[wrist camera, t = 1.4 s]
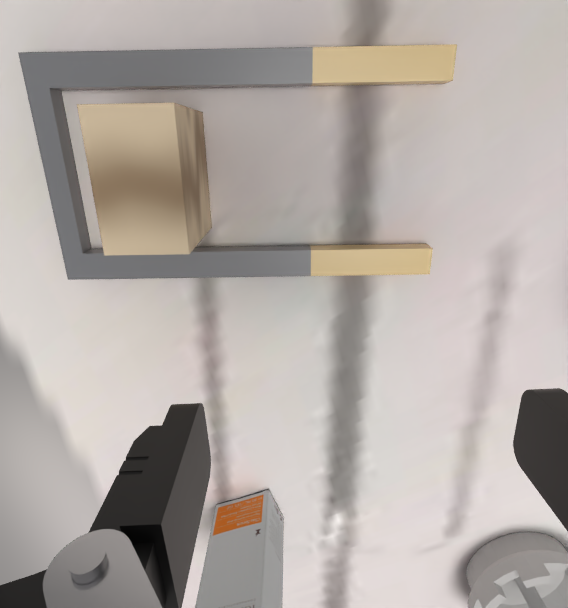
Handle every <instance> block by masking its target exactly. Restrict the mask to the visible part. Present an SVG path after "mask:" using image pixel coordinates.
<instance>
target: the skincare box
mask: <svg viewBox="0 0 568 608" xmlns="http://www.w3.org/2000/svg"><path fill="white" fill-rule="evenodd" d="M283 529H284V518H283V516H282V514H281V512H280V510H279V508H278V506H277V504H276V502H275V501H274V499H273V497H272V495H271V493H270V491H269V490H266V491H263V492H261V493H257V494H254V495H250V496H247V497H244V498H240V499H236V500H233V501H229V502H225V503H221V504H218V505H216V508H215V513H214V518H213V523H212V528H211V533H210V537H209V543H208V547H207V552H206V557H205V562H204V567H203V572H202V577H201V582H200V586H199V591H198V596H197V601H196V606H195V608H282V589H283Z"/></svg>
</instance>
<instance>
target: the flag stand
mask: <svg viewBox="0 0 568 608" xmlns="http://www.w3.org/2000/svg"><path fill="white" fill-rule="evenodd" d="M466 576H467V581H468V583H469V586H470V588H471V592H470V594H469V599H468V607H469V608H568V552H567V550H566V549H565V548H564V546H563V545H562V544H561V543H560V542H559V541H558V540H556V539H555V538H553V537H551V536H549V535H545V534H541V533H535V532H519V533H513V534H508V535H505V536H502V537H499V538H497V539H495V540H492V541H490V542H489V543H487V544H486V545H484V546H483V547H481V548H480V549H479V550H478V551H477V552H476V553H475V554H474V555H473V557H472V558H471V559H470V561H469V564H468V566H467V571H466Z"/></svg>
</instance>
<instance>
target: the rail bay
mask: <svg viewBox="0 0 568 608" xmlns="http://www.w3.org/2000/svg"><path fill="white" fill-rule="evenodd" d="M456 49H457V45H403V46H349V47H295V48H240V49H186V50H132V51H78V52H24V53H19V58H20V62H21V67H22V72H23V76H24V81H25V85H26V90H27V94H28V99H29V104H30V108H31V113H32V117H33V122H34V126H35V131H36V135H37V140H38V145H39V149H40V154H41V158H42V163H43V167H44V172H45V176H46V181H47V186H48V190H49V195H50V199H51V204H52V208H53V213H54V217H55V222H56V227H57V231H58V236H59V240H60V245H61V249H62V254H63V259H64V263H65V268H66V272H67V277H68V280H70V279H138V278H206V277H274V276H343V275H411V274H430V266H431V258H432V249H433V248H431V247H430V246H429V245H427V244H371V245H305V246H239V247H195V248H194V249H193V251H192V252H191V253H190V254H174V255H106V256H104V251H103V249H91V244H90V239H89V234H88V229H87V224H86V218H85V213H84V208H83V203H82V198H81V192H80V187H79V182H78V177H77V172H76V166H75V161H74V156H73V151H72V145H71V140H70V135H69V130H68V125H67V119H66V114H65V109H64V104H63V99H62V93H61V90H114V89H170V88H226V87H282V86H338V85H395V84H445V83H447V82H450V81H453V74H454V65H455V57H456Z"/></svg>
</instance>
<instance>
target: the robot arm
mask: <svg viewBox="0 0 568 608" xmlns="http://www.w3.org/2000/svg"><path fill="white" fill-rule="evenodd" d="M513 446H514V453H515V456H516V459H517V462H518V464H519V466H520V467H521V469H522V470H523V471H524V473H525V474H526V475H527V477H528V478H529V479H530V481H531V482H532V484H533V485H534V486H535V488H536V489H537V490H538V492H539V493H540V494H541V496H542V497H543V498H544V500H545V501H546V502H547V504H548V505H549V507H550V508H551V509H552V511H553V512H554V513H555V515H556V516H557V517H558V519H559V520H560V521H561V523H562V524H563V526H564V527H565V528H566V530H567V531H568V393H567V392H565V391H564V390H562V389H559V388H557V389H534V390H526V391H525V392H524V393H523V395H522V398H521V403H520V408H519V414H518V419H517V424H516V430H515V435H514V441H513ZM210 468H211V456H210V447H209V440H208V433H207V426H206V419H205V412H204V407H203V405H202V403H197V404H175V405H171V406H170V408H169V411H168V413H167V415H166V418H165V420H164V422H163V425H162V426H149V427H148V428H147V429H146V430H145V431H144V432H143V433H142V434H141V435H140V436H139V437H138V438H137V439H136V440H135V441H134V442H133V444H132V446H131V448H130V450H129V452H128V454H127V456H126V461H124V462H123V464H122V466H121V468H120V470H119V475H117V476H116V478H115V480H114V483H113V485H112V487H111V489H110V491H109V493H108V495H107V497H106V499H105V501H104V503H103V505H102V507H101V509H100V511H99V513H98V515H97V517H96V519H95V521H94V523H93V525H92V527H91V529H90V531H89V533H87V534H84V535H82V536H80V537H78V538H77V539H75V540H73V541H72V542H71V543H69V544H68V545H66V547H64V548H63V549H62V550H61V551H60V552H59V553H58V554H57V555H56V556H55V557H54V559H53V560H52V562H51V563H50V565H49V567H48V569H46V570H44V571H42V572H39V573H37V574H34V575H31V576H28V577H25V578H22V579H19V580H16V581H12V582H9V583H6V584H3V585H0V608H181V607H182V602H183V598H184V593H185V588H186V584H187V579H188V575H189V570H190V565H191V561H192V556H193V552H194V547H195V542H196V538H197V533H198V529H199V524H200V519H201V515H202V510H203V506H204V501H205V496H206V492H207V487H208V483H209V478H210Z"/></svg>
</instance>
